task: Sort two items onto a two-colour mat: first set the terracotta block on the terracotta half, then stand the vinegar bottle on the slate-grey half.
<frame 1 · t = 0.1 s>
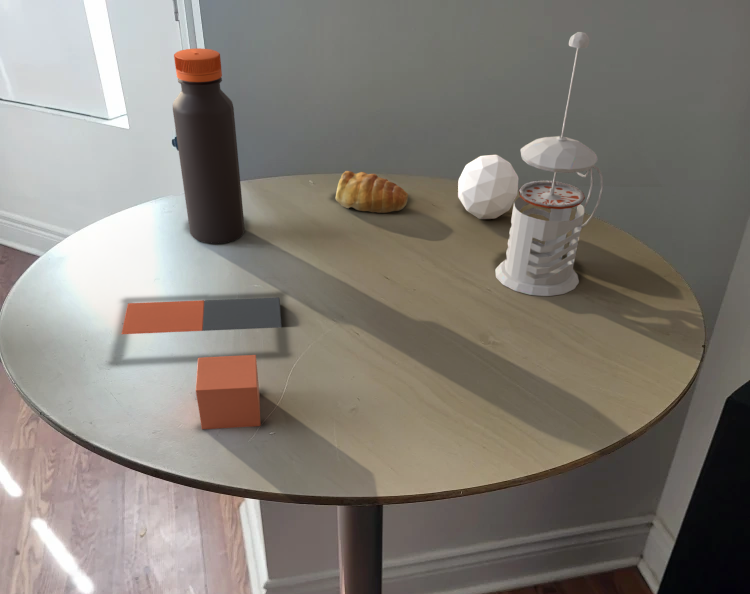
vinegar: (217, 234, 97), on the table
french press: (542, 275, 91), on the table
terracotta block: (232, 419, 69), on the table
geometric ball: (484, 217, 103), on the table
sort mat: (203, 335, 79), on the table
pastry: (368, 205, 105), on the table
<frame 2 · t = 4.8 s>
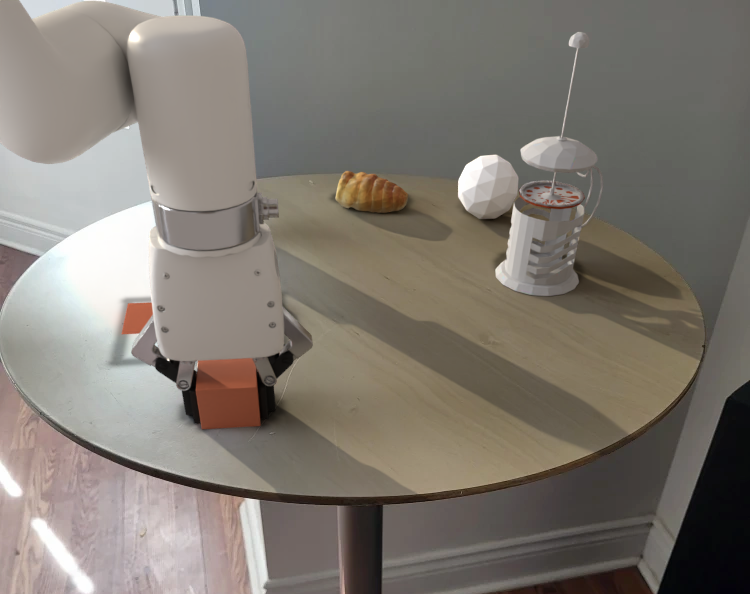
hand: (232, 415, 69), 0 cm above the table, tool pointing down, fingers closed on terracotta block, 5 cm apart
terracotta block: (232, 419, 69), on the table, touching gripper
everything else where it was.
when the fingers open (1 cm above the table, at t = 11.6 s): terracotta block stays where it is, resting on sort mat.
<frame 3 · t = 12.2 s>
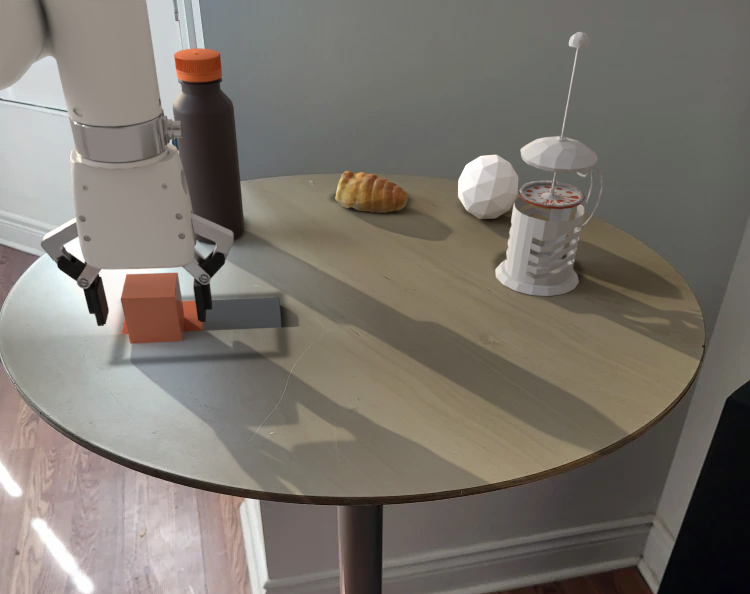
hand: (153, 317, 77), 2 cm above the table, tool pointing down, fingers open, 9 cm apart
terracotta block: (158, 330, 78), point 1 cm above the table, touching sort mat
everything else where it was.
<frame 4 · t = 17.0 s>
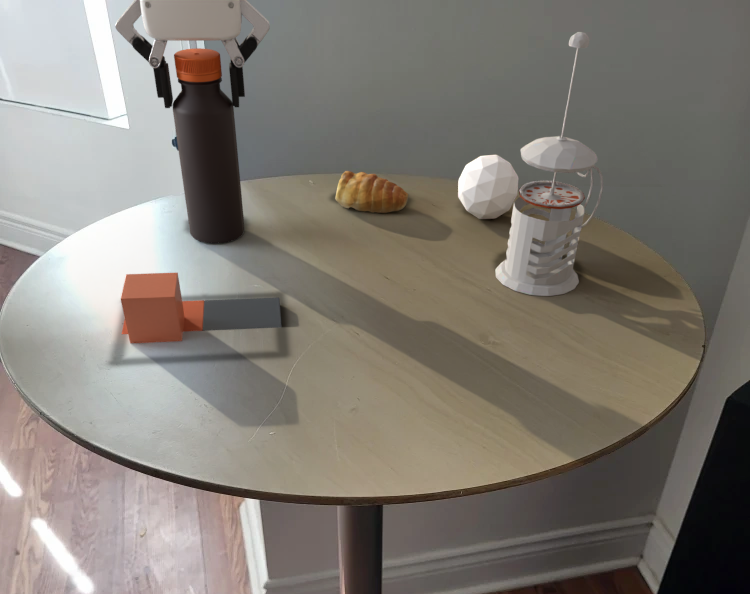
hand: (202, 102, 87), 15 cm above the table, tool pointing down, fingers closed on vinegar, 6 cm apart
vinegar: (217, 234, 97), on the table, touching gripper
everything else where it was.
when the fingers open (16 cm above the table, at t = 24.3 s): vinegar stays where it is, resting on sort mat.
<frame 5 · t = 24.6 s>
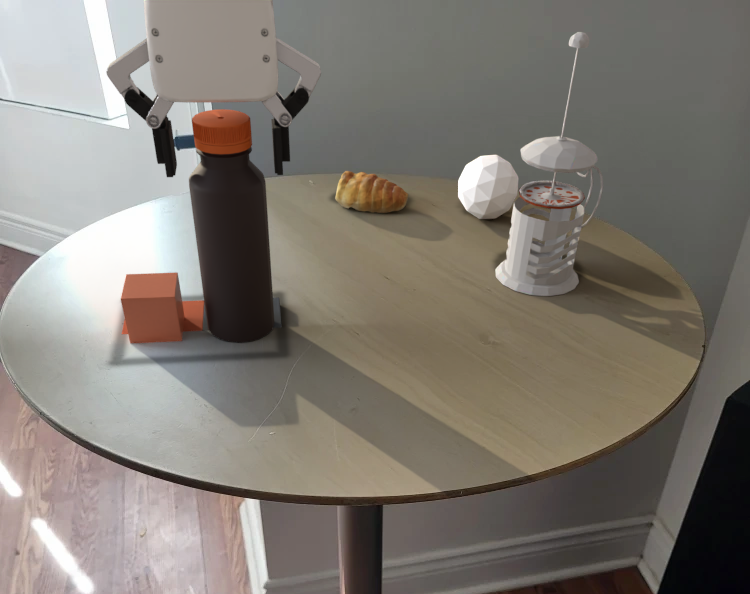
hand: (225, 170, 69), 16 cm above the table, tool pointing down, fingers open, 9 cm apart
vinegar: (241, 328, 79), point 1 cm above the table, touching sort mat
everything else where it was.
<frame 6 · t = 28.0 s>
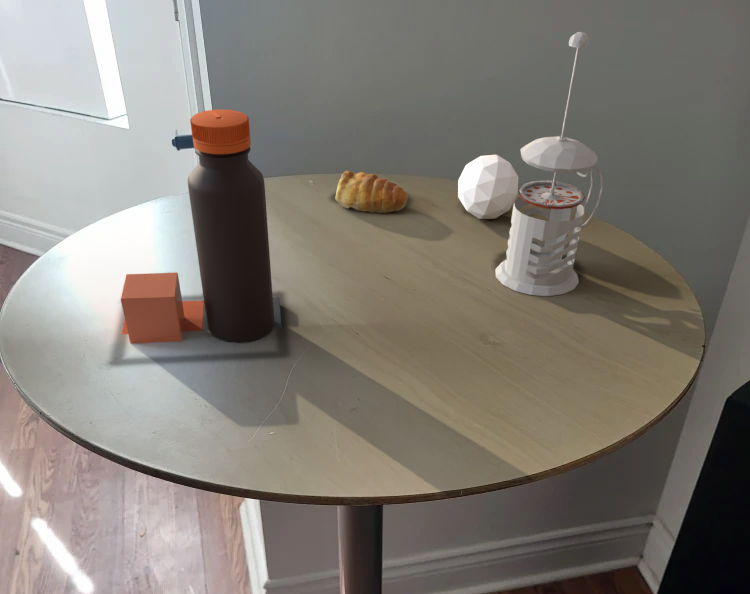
nothing on the table moved.
at the end: terracotta block inside the target area on the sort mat (0.4 cm from its centre), point 0.8 cm above the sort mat's base; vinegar inside the target area on the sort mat (0.6 cm from its centre), point 0.6 cm above the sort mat's base; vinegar tilted 0° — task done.
